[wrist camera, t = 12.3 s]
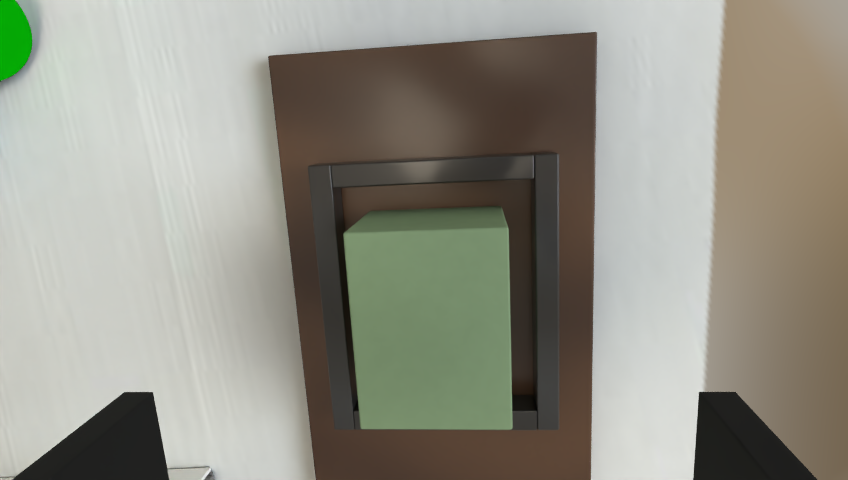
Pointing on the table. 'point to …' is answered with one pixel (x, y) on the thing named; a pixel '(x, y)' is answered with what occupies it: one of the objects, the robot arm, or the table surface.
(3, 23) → the stick construction toy
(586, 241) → the back board
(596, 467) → the table surface
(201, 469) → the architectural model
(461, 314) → the green rectangular block
